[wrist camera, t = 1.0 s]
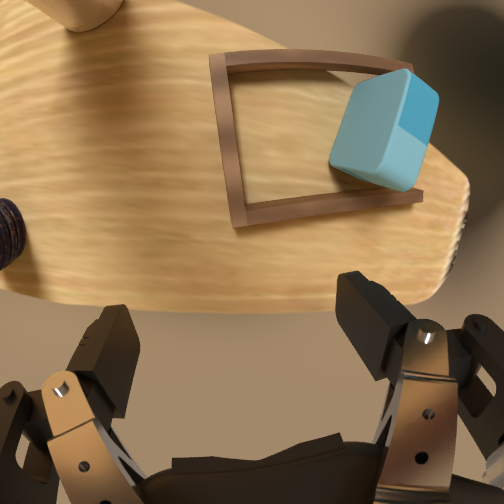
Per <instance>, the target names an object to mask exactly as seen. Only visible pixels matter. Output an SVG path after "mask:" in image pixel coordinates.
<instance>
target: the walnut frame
mask: <svg viewBox="0 0 504 504" xmlns="http://www.w3.org/2000/svg"><path fill="white" fill-rule="evenodd" d="M209 65H210V73H211V81H212V89H213V97H214V104H215V112H216V119H217V126H218V134H219V141H220V148H221V155H222V162H223V169H224V176H225V183H226V190H227V197H228V203H229V210H230V217H231V222H232V226H233V228H236V227H243V226H249V225H255V224H262V223H268V222H275V221H282V220H288V219H295V218H302V217H309V216H316V215H323V214H331V213H338V212H346V211H353V210H361V209H369V208H377V207H385V206H394V205H402V204H411V203H420V202H423V190H419V189H416V188H413V187H412V188H411V189H409V190H408V191H406V192H400V191H397V190H394V189H390V188H379V189H368V190H357V191H347V192H338V193H329V194H320V195H311V196H303V197H295V198H288V199H280V200H273V201H266V202H259V203H252V204H245V203H244V196H243V188H242V181H241V173H240V166H239V158H238V151H237V144H236V136H235V129H234V121H233V114H232V106H231V99H230V91H229V84H228V77H227V74H230V73H240V72H251V71H267V70H330V71H346V72H357V73H367V74H375V75H383V74H387V73H390V72H393V71H396V70H400V69H408V70H409V71H410V72H412V73H413V74H414V70H413V65H412V64H410V63H406V62H402V61H397V60H392V59H387V58H381V57H376V56H369V55H362V54H355V53H346V52H336V51H323V50H300V49H273V50H251V51H238V52H227V53H218V54H211V55H209Z"/></svg>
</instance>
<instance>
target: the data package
mask: <svg viewBox="0 0 504 504" xmlns="http://www.w3.org/2000/svg"><path fill="white" fill-rule="evenodd" d="M438 104H439V97H438V94H437V93H436V92H435V91H434V90H433V89H431V88H430V87H429V86H428V85H427V84H426V83H424V82H423V81H422V80H420V79H419V78H418V77H417V76H416V75H414V74H413V73H412V72H410V71H409V70H408V69H400V70H396V71H393V72H390V73H387V74H383V75H380V76H377V77H374V78H371V79H368V80H366V81H363V82H360V83H359V84H357V86H355V88H354V90H353V92H352V94H351V97H350V100H349V103H348V106H347V109H346V112H345V114H344V117H343V120H342V123H341V126H340V129H339V131H338V134H337V137H336V140H335V142H334V145H333V148H332V151H331V153H330V157H329V163H330V165H331V166H332V167H334V168H336V169H339V170H341V171H343V172H345V173H347V174H349V175H351V176H353V177H355V178H357V179H360V180H363V181H367V182H370V183H374V184H377V185H381V186H384V187H387V188H390V189H394V190H397V191H400V192H406V191H408V190H409V189H411V188H412V187H413V185H414V184H415V182H416V180H417V177H418V174H419V171H420V168H421V165H422V162H423V159H424V156H425V153H426V149H427V146H428V143H429V139H430V135H431V132H432V128H433V124H434V121H435V117H436V113H437V108H438Z"/></svg>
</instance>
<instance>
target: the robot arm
mask: <svg viewBox="0 0 504 504" xmlns="http://www.w3.org/2000/svg"><path fill="white" fill-rule="evenodd" d="M25 1H27V2H28V3H30V4H32V5H33V6H35V7H36V8H38V9H39V10H41V11H42V12H44V13H45V14H47V15H48V16H50V17H51V18H53V19H54V20H56V21H57V22H58V23H60V24H61V25H63V26H64V27H66V28H67V29H68V30H70V31H73V32H85V31H88V30H91V29H94V28H96V27H98V26H99V25H101V24H103V23H104V22H106V21H107V20H108V19H109V18H111V17H112V16H113V15H114V14H115V13H116V11H117V10H118V9H119V7H120V6H121V4H122V2H123V0H25ZM335 311H336V317H337V321H338V323H339V325H340V326H341V328H342V329H343V331H344V332H345V334H346V336H347V337H348V339H349V340H350V342H351V343H352V345H353V346H354V348H355V349H356V351H357V353H358V354H359V356H360V357H361V359H362V360H363V362H364V364H365V365H366V367H367V368H368V370H369V371H370V373H371V375H372V376H373V378H374V379H375V381H378V380H381V379H384V378H386V377H387V378H388V379H389V381H390V382H389V385H388V388H387V393H386V397H385V401H384V405H383V409H382V413H381V417H380V420H379V424H378V427H377V430H376V433H375V436H374V438H373V440H372V443H367V442H343V440H342V437H341V435H340V433H336V434H333V435H329V436H326V437H322V438H318V439H314V440H311V441H306V442H303V443H299V444H297V445H295V446H292V447H290V448H288V449H286V450H283V451H281V452H279V453H276V454H274V455H271V456H269V457H267V458H264V459H261V460H256V461H254V460H240V459H229V458H222V457H214V456H210V457H193V458H192V457H190V458H172V468H170V469H167V470H163V471H160V472H158V473H155V474H154V475H151V476H150V477H148V476H147V475H146V474H145V473H144V472H143V471H142V470H141V468H140V467H139V466H138V465H137V463H136V462H135V460H134V459H133V458H132V456H131V455H130V453H129V452H128V450H127V449H126V447H125V446H124V444H123V443H122V441H121V440H120V438H119V436H118V435H117V433H116V431H115V430H114V428H113V427H112V426H111V422H112V418H123V419H124V417H125V413H126V408H127V403H128V399H129V394H130V390H131V386H132V381H133V377H134V373H135V369H136V365H137V361H138V357H139V353H140V342H139V337H138V335H137V332H136V330H135V327H134V324H133V322H132V319H131V317H130V314H129V311H128V308H127V307H126V305H124V304H121V305H111V306H106V307H105V308H104V310H103V312H102V313H101V315H100V317H99V319H98V320H95V321H94V322H93V323H92V324H91V325H90V326H89V327H88V328H87V330H86V331H85V333H84V335H83V339H81V341H80V343H79V346H78V347H77V348H76V350H75V352H74V354H73V356H72V358H71V360H70V362H69V364H68V367H67V369H66V371H60V372H57V373H55V374H53V375H51V376H50V377H49V378H48V379H47V380H46V381H45V383H44V384H43V386H42V389H41V390H36V391H31V392H27V391H26V390H25V388H24V387H23V385H22V384H21V383H20V382H18V381H11V382H8V383H6V384H5V385H4V386H2V387H1V388H0V504H56V500H57V492H58V486H59V479H60V480H61V482H62V484H63V487H64V489H65V491H66V494H67V495H68V498H69V500H70V502H71V504H504V331H503V330H502V329H500V327H498V325H496V324H495V323H494V322H493V321H492V320H491V319H489V318H488V317H486V316H484V315H480V314H472V315H469V316H467V317H466V318H465V320H464V323H463V326H462V328H461V329H452V330H445V329H444V327H443V326H442V325H440V324H439V323H437V322H435V321H433V320H430V319H416V318H415V317H414V316H413V315H412V314H411V313H410V312H409V311H408V310H407V309H406V308H405V307H404V306H403V305H402V304H401V303H400V302H399V301H398V300H396V298H395V297H394V296H393V295H391V294H390V292H389V291H388V290H387V289H386V288H385V287H383V286H382V285H380V284H378V283H376V282H374V281H369V280H368V279H367V278H366V277H365V276H364V275H362V274H361V273H360V272H359V271H353V272H347V273H342V274H339V276H338V279H337V293H336V308H335ZM481 366H482V367H483V368H484V369H485V370H486V371H487V373H488V374H489V375H490V376H491V377H492V379H493V380H494V381H495V383H496V394H495V396H494V397H493V396H492V394H491V393H490V392H489V390H488V389H487V388H486V386H485V385H484V384H483V382H482V381H481V380H480V379H479V377H478V376H477V373H478V371H479V370H480V368H481ZM457 415H459V416H460V418H461V419H462V421H463V422H464V424H465V426H466V427H467V429H468V431H469V432H470V434H471V436H472V437H473V439H474V441H475V442H476V444H477V446H478V447H479V449H480V451H481V453H482V454H483V456H484V458H485V459H486V461H487V463H486V471H485V472H484V473H483V476H482V479H483V482H484V483H482V482H478V481H474V480H471V479H468V478H464V477H461V476H458V475H455V474H452V469H453V462H454V455H455V446H456V434H457ZM21 434H23V435H24V436H25V437H26V438H27V439H28V440H29V441H30V444H29V447H28V450H27V454H26V457H25V461H24V465H23V469H22V468H20V466H19V465H18V463H17V461H16V458H15V454H16V450H17V446H18V443H19V440H20V437H21Z"/></svg>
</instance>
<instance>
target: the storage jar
mask: <svg viewBox="0 0 504 504" xmlns="http://www.w3.org/2000/svg"><path fill="white" fill-rule="evenodd" d="M25 242H26V230H25V224H24V220H23V217H22V215H21V213H20V211H19V209H18V208H17V206H16V205H15V204H14V203H13V202H12V201H10V200H8V199H6V198H0V271H1V270H2V269H3V268H5V267H6V266H8V265H9V264H10V263H11V262H12V261H13V260H14V259H16V258H17V257H18V256H20V254H21V253H22V252H23V250H24V247H25Z"/></svg>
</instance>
